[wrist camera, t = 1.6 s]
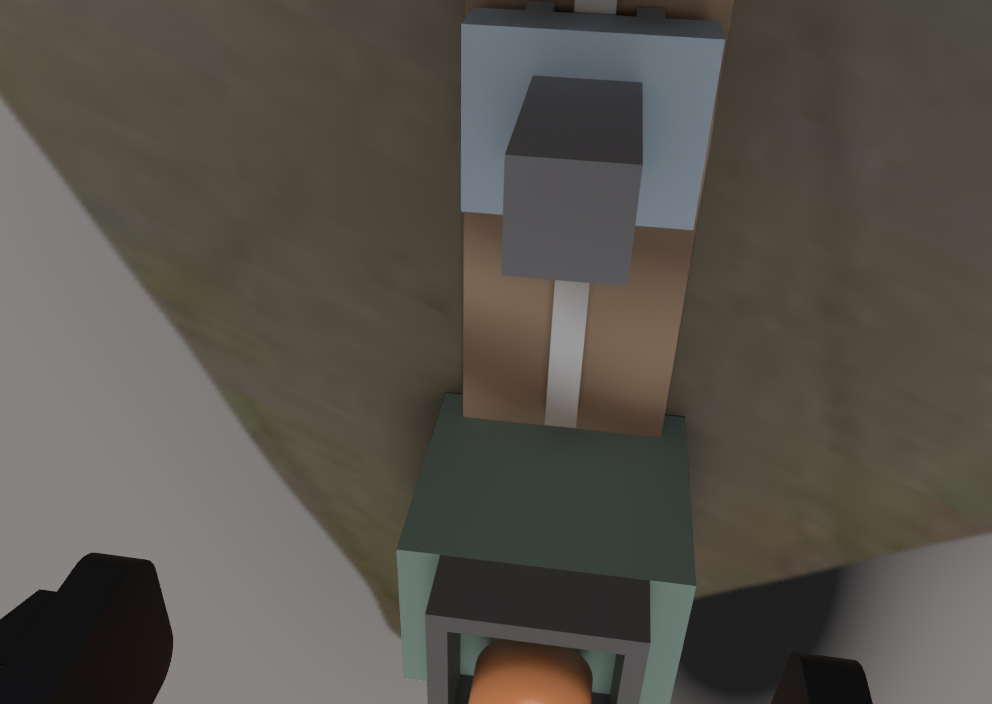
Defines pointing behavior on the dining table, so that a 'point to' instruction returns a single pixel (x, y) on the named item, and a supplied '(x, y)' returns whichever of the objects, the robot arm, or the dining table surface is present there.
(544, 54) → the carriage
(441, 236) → the dining table surface
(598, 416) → the rail stand
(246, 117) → the dining table surface
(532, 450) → the cabinet
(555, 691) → the button
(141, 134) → the dining table surface
